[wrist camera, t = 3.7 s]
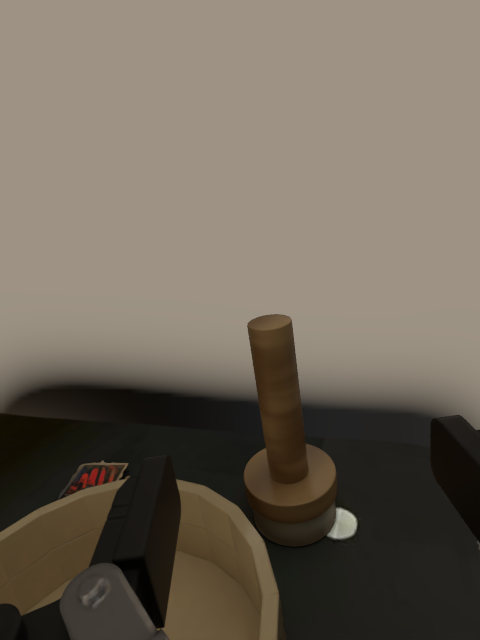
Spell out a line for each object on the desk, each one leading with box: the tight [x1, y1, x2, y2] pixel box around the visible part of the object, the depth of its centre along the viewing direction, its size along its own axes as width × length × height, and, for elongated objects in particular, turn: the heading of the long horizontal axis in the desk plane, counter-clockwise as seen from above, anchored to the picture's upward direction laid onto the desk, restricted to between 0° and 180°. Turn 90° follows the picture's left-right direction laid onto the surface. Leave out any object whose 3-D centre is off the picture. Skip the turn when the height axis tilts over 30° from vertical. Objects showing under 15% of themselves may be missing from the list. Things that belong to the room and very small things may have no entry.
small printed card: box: [58, 461, 130, 500], centre depth 28 cm, size 5×5×1 cm
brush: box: [244, 314, 337, 547], centre depth 22 cm, size 5×5×12 cm
